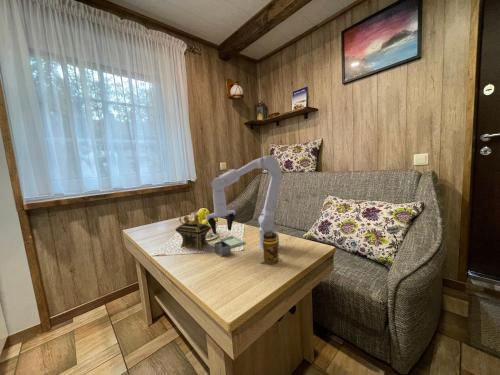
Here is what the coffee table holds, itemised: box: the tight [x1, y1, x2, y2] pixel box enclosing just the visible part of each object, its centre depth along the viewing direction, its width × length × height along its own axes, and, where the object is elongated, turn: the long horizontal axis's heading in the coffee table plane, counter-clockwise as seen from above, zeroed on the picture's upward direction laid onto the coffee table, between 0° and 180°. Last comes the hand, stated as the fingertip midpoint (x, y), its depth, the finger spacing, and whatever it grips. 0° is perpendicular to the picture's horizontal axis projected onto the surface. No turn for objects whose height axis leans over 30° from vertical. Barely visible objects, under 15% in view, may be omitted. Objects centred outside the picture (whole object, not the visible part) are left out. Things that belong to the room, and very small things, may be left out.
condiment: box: [259, 232, 283, 267], centre depth 89 cm, size 7×8×12 cm
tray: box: [216, 234, 246, 249], centre depth 112 cm, size 13×10×2 cm
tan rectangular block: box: [213, 243, 233, 259], centre depth 100 cm, size 9×6×4 cm, turn 33°
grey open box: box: [214, 241, 232, 258], centre depth 101 cm, size 9×4×4 cm, turn 33°
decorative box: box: [175, 208, 212, 251], centre depth 112 cm, size 20×10×20 cm, turn 61°
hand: (222, 231), depth 101 cm, fingers open, 7 cm apart
